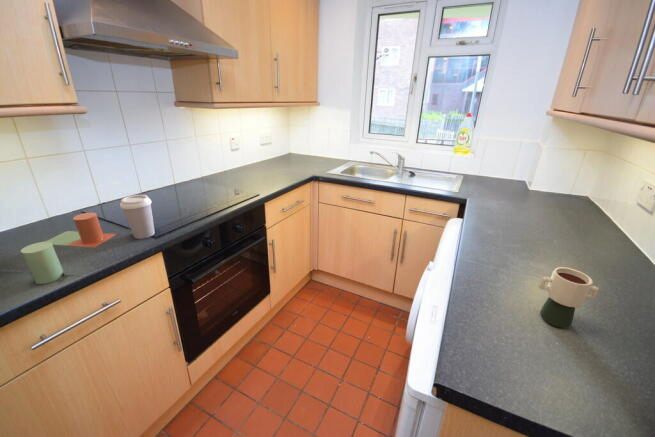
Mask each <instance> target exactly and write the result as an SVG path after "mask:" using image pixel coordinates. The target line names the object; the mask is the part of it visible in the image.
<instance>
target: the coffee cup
mask: <svg viewBox="0 0 655 437" xmlns="http://www.w3.org/2000/svg"><path fill="white" fill-rule="evenodd" d="M152 203H153V201H152V199H151V198H150V197H149V196H148V195H146V194H132V195H128V196H125V197H123V198H122V199H121V201H120V204H119V208H120V209H122V211H123V214H124V215H125V219H126V220H127V223H128V225H129V228H130V230H131V233H132V235H133V238H134V239H137V240H142V239H147V238H150V237H152V236H154V235H155V234H156V233H155V225H154V218H153V210H152Z"/></svg>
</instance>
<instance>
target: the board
mask: <svg viewBox="0 0 655 437" xmlns="http://www.w3.org/2000/svg"><path fill="white" fill-rule="evenodd" d="M103 235H104V239H102V240H101V241H98V242H95V243H91V244H83V243H82V242H81V239H80V236H79V233H78V231H75V230H66V231H64V232H61V233H60V234H58V235H55V236H54V237H51V238H49V239H47V240H45V241H44V242H51V243H52V244H53V246H66V247H67V246H68V247H81V248H82V247H83V248H97V247H98V246H100V245H101V244H103V243H104V242H106V241H108V240H111V238H113V237H114V236H116V235H117V233H105V232H103Z"/></svg>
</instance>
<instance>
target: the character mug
mask: <svg viewBox="0 0 655 437" xmlns="http://www.w3.org/2000/svg"><path fill="white" fill-rule="evenodd" d="M546 282H548V284H547V285H546ZM593 283H594V282H593V279H592V278H591V277H590V276H589V275H587V274H586V273H584V272H582V271H579V270H578V269H574V268H571V267H567V266H566V267H565V266H559V267H556V268H555V269H554V270H553V271H552V274H551V276H550V277H547V276H542V278H541V279H540V282H539V285H538V289H540V290H544V291H546V294H547V296H548V297H547V299H546V301H545V302H544V304H543V305H542V307H541V309H540V311H539V315H540V316H541V317H542V318H543V319H544V320H545V321H546V322H548V323H549V324H551V325H553V326H554V327H558V328H562V329H564V328H569V327H570V326H571V325H572V324H573V321H574V316H575V312H576V308H579V307H582V305H583V304H584V303H585V301H586V300H587V299H589V300H594V299H595V298H596V297H597V294H598V292H599V290H600V289H599V287H598V286H595V285H593ZM590 291H591V292H590ZM589 292H590V294H589Z"/></svg>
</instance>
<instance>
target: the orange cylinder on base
mask: <svg viewBox="0 0 655 437" xmlns="http://www.w3.org/2000/svg"><path fill="white" fill-rule="evenodd" d="M72 219H73V223H74V225H75V228H76V230H77V231H76V232H78V233H79V236H80V239H81V242H82V243H83V244H91V243H95V242H98V241H101V240H102V239H104V235H103V233H104V232H103V229H102V226H101V223H100V220H99V217H98V213H96V212H84V213H79V214H77V215H74V217H73V218H72Z"/></svg>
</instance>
